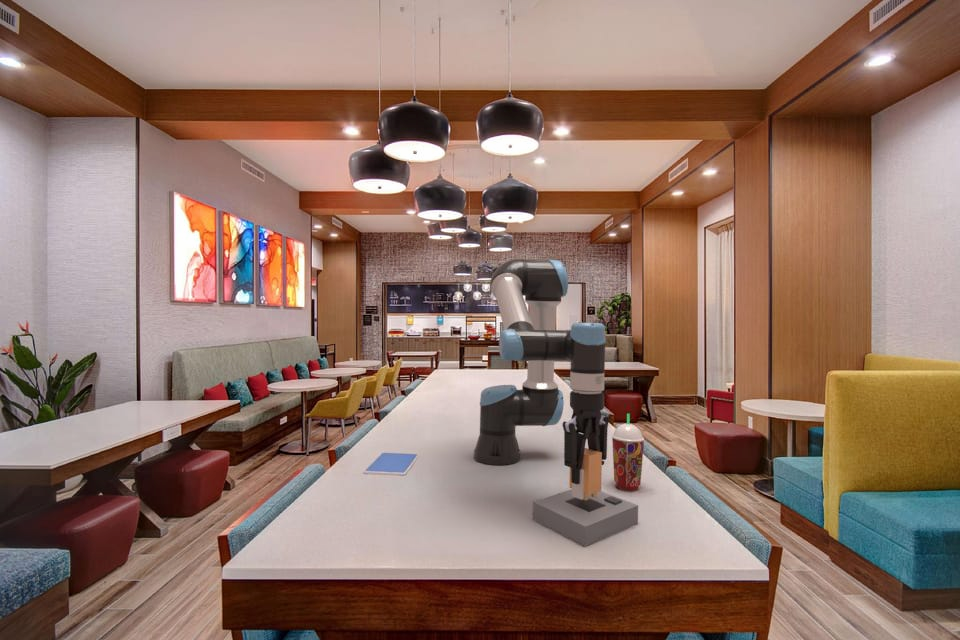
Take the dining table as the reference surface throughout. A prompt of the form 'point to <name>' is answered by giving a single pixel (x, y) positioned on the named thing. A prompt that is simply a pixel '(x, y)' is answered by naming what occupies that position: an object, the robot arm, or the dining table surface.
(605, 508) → the socket box
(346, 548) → the dining table surface
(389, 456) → the tablet computer
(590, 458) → the plug
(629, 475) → the smoothie
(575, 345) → the robot arm
